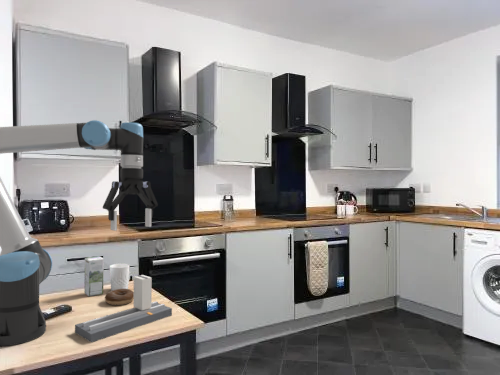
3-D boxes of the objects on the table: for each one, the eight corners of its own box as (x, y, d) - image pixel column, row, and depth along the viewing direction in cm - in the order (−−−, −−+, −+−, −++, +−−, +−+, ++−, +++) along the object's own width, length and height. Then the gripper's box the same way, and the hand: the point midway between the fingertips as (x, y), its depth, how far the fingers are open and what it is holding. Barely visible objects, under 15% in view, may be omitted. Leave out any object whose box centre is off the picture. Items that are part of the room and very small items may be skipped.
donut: (124, 295, 146) (124, 285, 146) (140, 301, 140) (140, 290, 140) (99, 302, 138) (99, 292, 138) (115, 308, 131) (115, 297, 131)
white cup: (123, 292, 149) (123, 268, 149) (105, 291, 151) (105, 267, 151) (133, 287, 157) (133, 263, 157) (116, 286, 159) (116, 262, 158)
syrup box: (99, 290, 152) (99, 255, 151) (103, 294, 147) (103, 258, 147) (84, 293, 148) (84, 257, 148) (88, 297, 143) (88, 259, 143)
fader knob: (133, 309, 122) (133, 276, 122) (142, 307, 125) (142, 274, 125) (142, 313, 119) (142, 278, 119) (151, 310, 122) (151, 276, 121)
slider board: (74, 332, 110) (74, 321, 110) (154, 308, 131) (154, 299, 131) (91, 342, 104) (91, 330, 104) (171, 315, 125) (171, 305, 125)
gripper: (103, 166, 117) (103, 232, 118) (167, 168, 136) (167, 226, 137) (91, 166, 122) (91, 230, 122) (155, 168, 141) (155, 224, 141)
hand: (131, 228), depth 130 cm, fingers open, 13 cm apart
